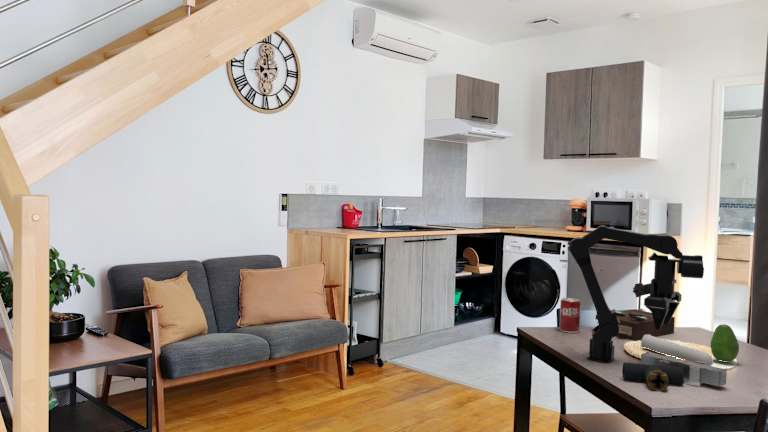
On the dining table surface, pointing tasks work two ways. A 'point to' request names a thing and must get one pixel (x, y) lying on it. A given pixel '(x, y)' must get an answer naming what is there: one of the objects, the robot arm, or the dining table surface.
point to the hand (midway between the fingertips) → (661, 327)
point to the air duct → (706, 372)
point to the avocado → (724, 343)
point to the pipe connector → (653, 375)
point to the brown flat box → (640, 325)
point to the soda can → (570, 315)
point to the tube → (675, 350)
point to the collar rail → (693, 374)
